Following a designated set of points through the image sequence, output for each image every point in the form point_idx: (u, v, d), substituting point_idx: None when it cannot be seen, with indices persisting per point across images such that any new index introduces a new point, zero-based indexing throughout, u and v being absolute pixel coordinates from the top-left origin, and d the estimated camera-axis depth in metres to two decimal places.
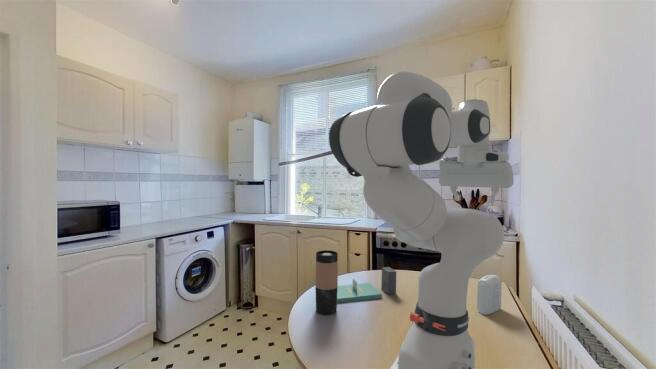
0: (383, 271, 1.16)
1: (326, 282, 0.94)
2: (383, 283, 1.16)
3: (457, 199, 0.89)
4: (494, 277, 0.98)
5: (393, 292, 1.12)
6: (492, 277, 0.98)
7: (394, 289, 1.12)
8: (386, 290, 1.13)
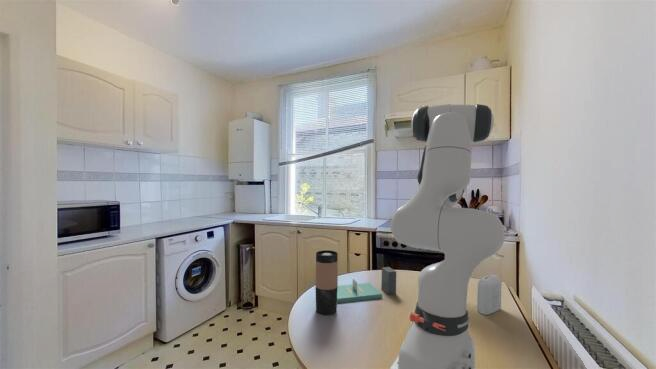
0: (383, 271, 1.16)
1: (326, 282, 0.94)
2: (383, 283, 1.16)
3: None
4: (494, 277, 0.98)
5: (393, 292, 1.12)
6: (492, 277, 0.98)
7: (394, 289, 1.12)
8: (386, 290, 1.13)
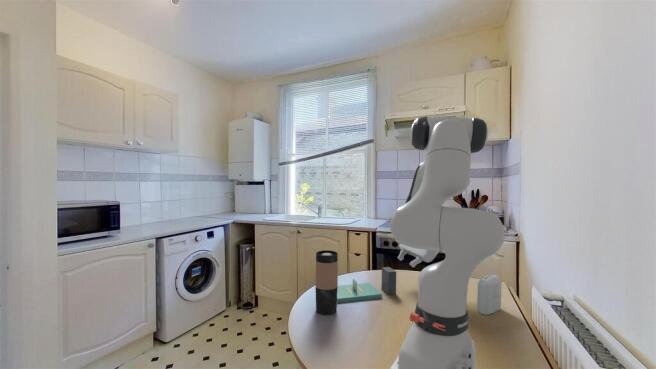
0: (383, 271, 1.16)
1: (326, 282, 0.94)
2: (383, 283, 1.16)
3: (399, 257, 1.21)
4: (494, 277, 0.98)
5: (393, 292, 1.12)
6: (492, 277, 0.98)
7: (394, 289, 1.12)
8: (386, 290, 1.13)
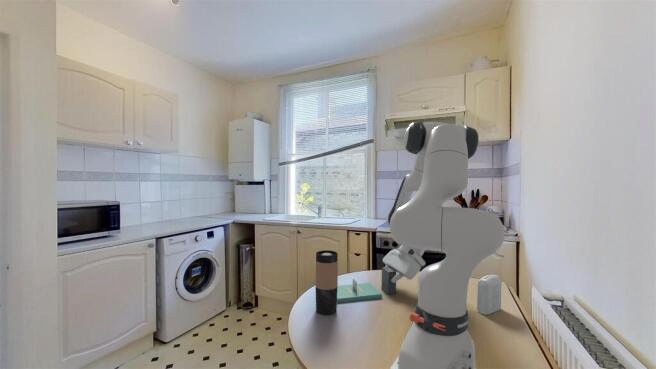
0: (383, 271, 1.16)
1: (326, 282, 0.94)
2: (383, 283, 1.16)
3: None
4: (494, 277, 0.98)
5: (393, 292, 1.12)
6: (492, 277, 0.98)
7: (394, 289, 1.12)
8: (386, 290, 1.13)
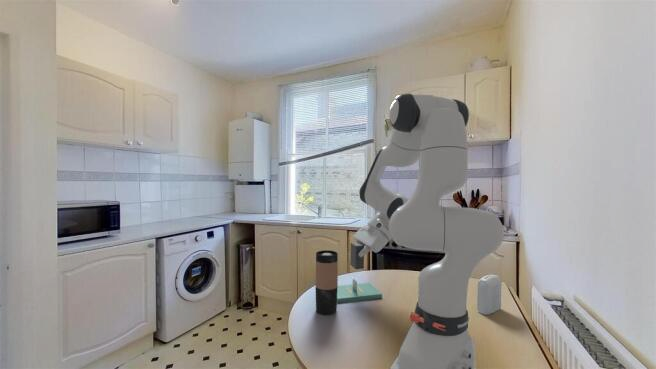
0: (351, 246, 1.13)
1: (326, 282, 0.94)
2: (351, 258, 1.13)
3: None
4: (494, 277, 0.98)
5: (361, 267, 1.09)
6: (492, 277, 0.98)
7: (362, 264, 1.10)
8: (354, 265, 1.10)
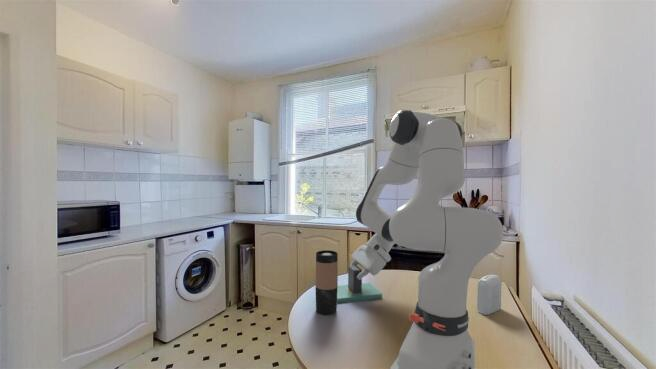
0: (349, 269, 1.13)
1: (326, 282, 0.94)
2: (349, 282, 1.13)
3: None
4: (494, 277, 0.98)
5: (358, 291, 1.09)
6: (492, 277, 0.98)
7: (359, 288, 1.09)
8: (351, 289, 1.10)
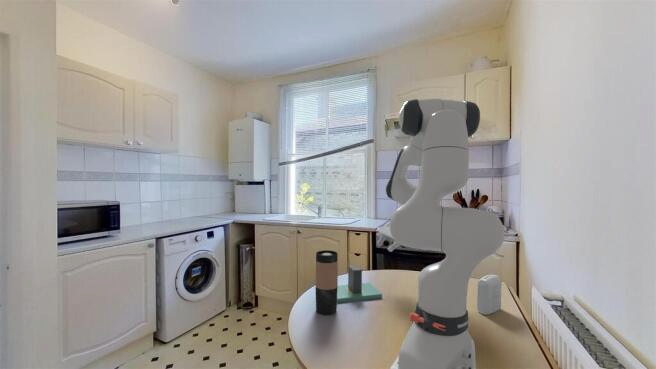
0: (349, 269, 1.13)
1: (326, 282, 0.94)
2: (349, 282, 1.13)
3: (378, 243, 1.19)
4: (494, 277, 0.98)
5: (358, 291, 1.09)
6: (492, 277, 0.98)
7: (359, 288, 1.09)
8: (351, 289, 1.10)
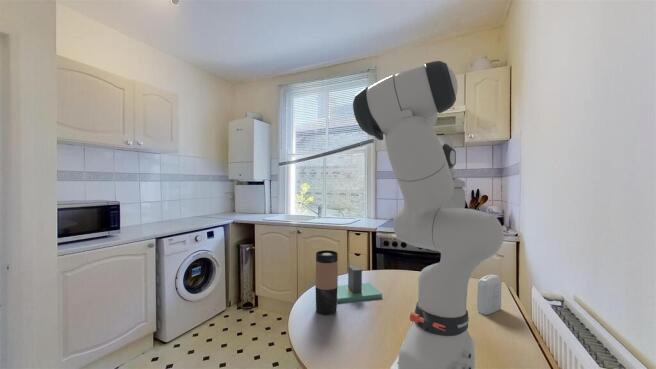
0: (349, 269, 1.13)
1: (326, 282, 0.94)
2: (349, 282, 1.13)
3: None
4: (494, 277, 0.98)
5: (358, 291, 1.09)
6: (492, 277, 0.98)
7: (359, 288, 1.09)
8: (351, 289, 1.10)
